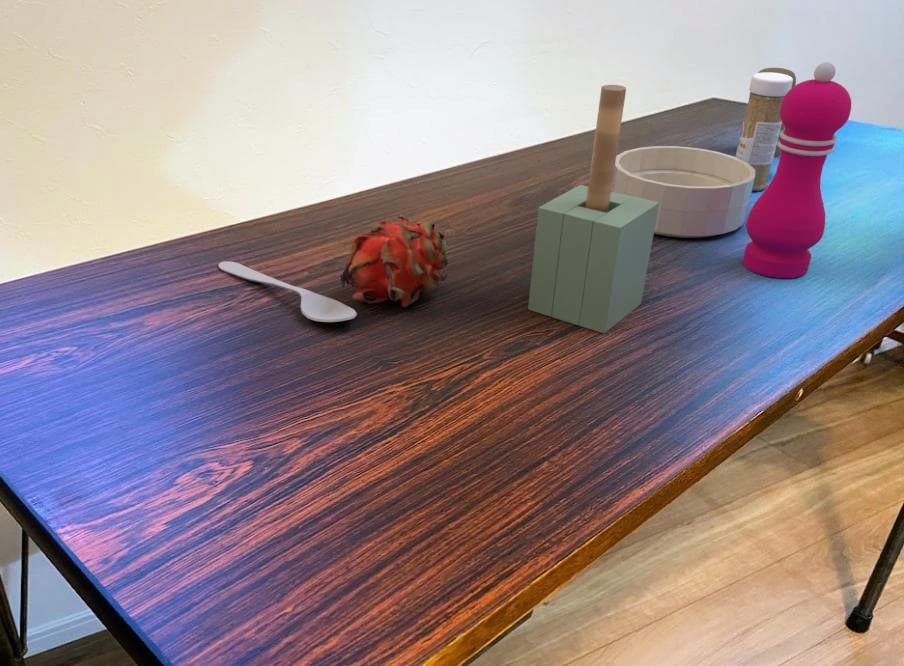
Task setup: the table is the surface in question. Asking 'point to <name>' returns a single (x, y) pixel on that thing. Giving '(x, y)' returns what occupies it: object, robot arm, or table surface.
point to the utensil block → (591, 258)
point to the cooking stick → (605, 147)
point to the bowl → (687, 188)
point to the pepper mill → (797, 179)
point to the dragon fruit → (396, 262)
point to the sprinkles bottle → (762, 123)
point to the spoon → (310, 302)
